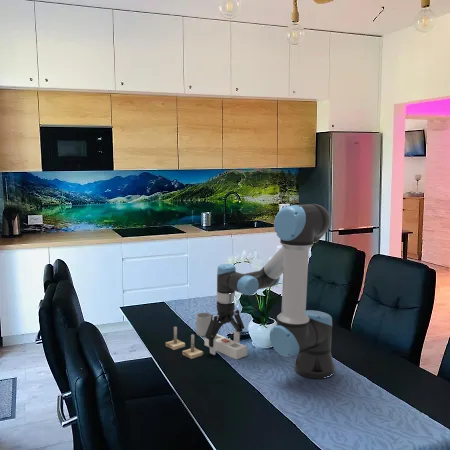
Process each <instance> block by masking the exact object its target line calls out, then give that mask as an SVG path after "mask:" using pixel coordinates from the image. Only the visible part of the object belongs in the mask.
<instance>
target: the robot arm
mask: <svg viewBox="0 0 450 450" xmlns="http://www.w3.org/2000/svg"><path fill="white" fill-rule="evenodd" d="M330 227H331V216H330V213H329V211H328V210H327V209H326V208H325V207H324V206H322V205H320V204H317V203H310V204H309V203H307V204H292V205H289V206H284V207H283V208H281V209H280V210H279V211H278V212H277V214H276V216H275V218H274V221H273V228H274V232H275V233H276V236H277V237H278V238H279V242H280V245H281V247H280V248H279V249H278V250H277V251H276V253H275V254H274V255H272V257H271V258H270V259H269V261H267V262H266V263H265V265H264V266H263V267H262V268H261V269H260V270H256V271H251V272H247V273H241V272H237V271H236V270H237V269H236V266H235V265H234V264H231V263H223V264H222V263H221V264H219V265H218V266H217V271H216V301H217V302H216V311H217V314H212V316H211V321H210V324H209V327H208V329H207V332H206V335H205V336H204V339H205V338H207V339H209V347H208V348H209V354H211V355H213V356H215V355H216V350H215V349H216V340H215V339H214V338H215V336H216V335H217V334H219V331H220V329H221V328H222V327H223V326H224V325H225V324H229V323H230V324H231V325H232V327H233V328H234V329H235V330H234V331H233V341H235V342H238V343H240V339H241V333H242V332H243V330H245V326H244V325H245V324H244V323H243V320H242V317H241V314H240V310H239V309H236V308H235V307H236V306H235V304H236V303H232V302H233V301H234V296H235V297H236V292H237V293H239V294H242V295H247V296H253V295H255V293H257V291H259V290H263V289H268V287H269V288H273V287H275V286H277V285H278V284H279V283H280V277H281V276H282V292H281V293H282V294H281V295H282V296H281V297H282V298H281V312H280V313H279V314H278V315H277V316H276V325H274V326H273V327H272V328H271V329H270V332H269V340H270V343H271V345H272V347H273V349H274V351H275V352H276V353H277V354H279V355H280V356H282V357H285V358H289V357H295V356H297V357H296V359H295V362H294V371H295V373H297V374H298V375H300V376H301V375H302V377H304V378H307V377H309V378H308V379H312V378H324V377H327V376H330V375H331V374H333V373H334V371H336V370H335V368H336V367H335V364H334V360H333V356H332V335H333V334H332V333H333V317H332V316H331V315H330V314H329V313H327V312H323V311H320V310H313V309H311V310H310V309H307V295H308V294H307V293H308V291H307V290H308V271H309V252H310V248H311V247H313V245H314V243H315V244H316V243H318V242H319V241H320V240H321V238H323V237H324V236H325V234H326V233H327V232H328V230H329V228H330ZM229 293H231V294H229ZM234 302H235V301H234ZM306 309H307V310H306ZM334 374H335V373H334Z"/></svg>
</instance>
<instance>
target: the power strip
mask: <svg viewBox="0 0 450 450" xmlns="http://www.w3.org/2000/svg"><path fill="white" fill-rule="evenodd" d="M214 339H215V340H216V349H215V352H216V351H217V352H219V353H221V354H222V355H226V356H228V357H230V358H231V359H234V360H239V359H242V358H243V357H247V355H248V346H247V345H244V344H242V343H240V342H239V343H238V342H235V341H234V339H233V340H232V339H230V338H228V337H226V336H223V335H221V334H219V333H217V335H216V336H215V338H214ZM204 346H205V347H208V348H210V347H209V339H207V338H205V337H204Z"/></svg>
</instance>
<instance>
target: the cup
mask: <svg viewBox="0 0 450 450" xmlns="http://www.w3.org/2000/svg"><path fill="white" fill-rule="evenodd" d="M212 315H213V314H212V313H211V312H210V313H209V312H200V313H196V315H195V316H196V318H195V319H196V321H195V333H196V335H197V336H198V337H205V335H206V332H207V329H208V327H209V324H210V321H211V316H212Z"/></svg>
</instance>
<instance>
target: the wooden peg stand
mask: <svg viewBox="0 0 450 450" xmlns="http://www.w3.org/2000/svg"><path fill="white" fill-rule="evenodd" d="M165 347H167V348H169V349H171V350H173V351H175V350H179V349H181V348H185V347H186V343H185V342H184V341H181V340H180V339H178V326H173V339H172V340H171V341H165ZM182 355H183V356H185V357H186V358H189V359H190V360H192V359H196V358H199V357H202V356H203V355H204V351H203V350H200V349H198V348H196V347H195V334H191V335H190V348H188V349H184V350H182Z"/></svg>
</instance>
